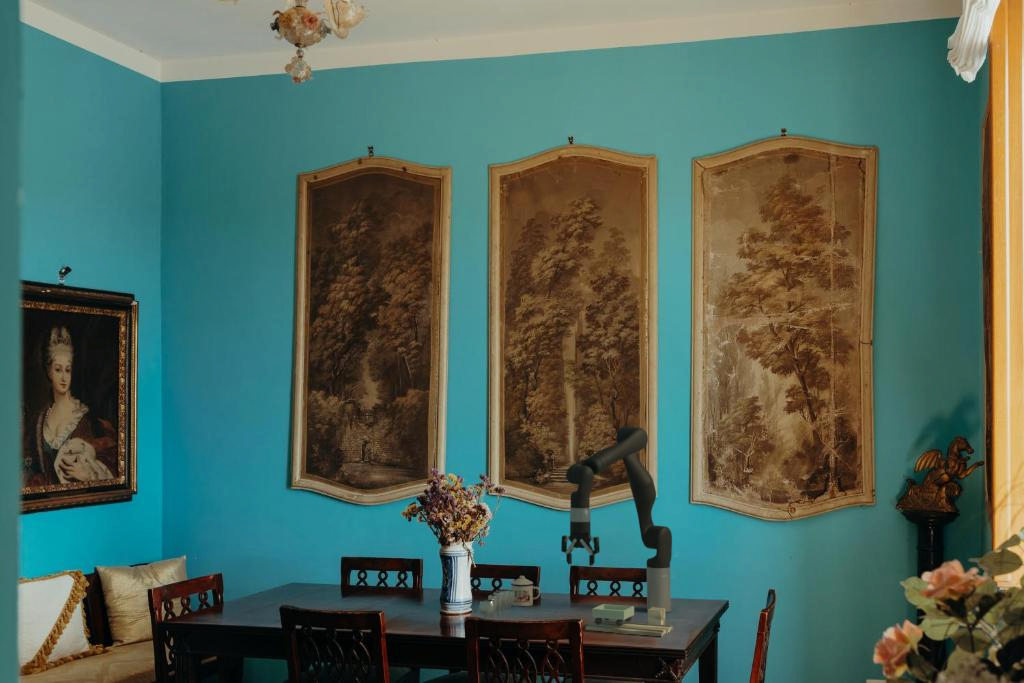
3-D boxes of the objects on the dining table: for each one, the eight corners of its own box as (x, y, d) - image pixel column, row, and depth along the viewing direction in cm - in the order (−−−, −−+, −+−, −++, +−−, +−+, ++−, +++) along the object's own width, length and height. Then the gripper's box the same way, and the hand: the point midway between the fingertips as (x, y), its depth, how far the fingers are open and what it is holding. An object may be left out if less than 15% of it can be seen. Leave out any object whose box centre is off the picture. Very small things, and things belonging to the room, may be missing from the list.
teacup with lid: (510, 606, 431) (510, 577, 432) (511, 602, 440) (511, 574, 441) (539, 607, 430) (539, 577, 431) (540, 603, 439) (540, 574, 440)
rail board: (599, 624, 393) (599, 618, 394) (672, 630, 381) (672, 624, 382) (585, 630, 381) (585, 625, 381) (661, 637, 369) (660, 631, 369)
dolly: (603, 619, 391) (603, 603, 392) (634, 621, 386) (634, 606, 387) (592, 624, 382) (592, 608, 382) (624, 626, 376) (623, 611, 377)
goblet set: (503, 622, 399) (503, 586, 400) (517, 623, 397) (517, 586, 398) (476, 636, 372) (476, 598, 373) (492, 637, 371) (492, 598, 372)
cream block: (652, 623, 394) (651, 607, 394) (665, 624, 391) (664, 608, 392) (647, 626, 389) (647, 609, 390) (661, 627, 387) (660, 610, 387)
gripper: (601, 519, 392) (602, 564, 391) (565, 518, 398) (566, 562, 397) (594, 521, 385) (595, 567, 384) (558, 520, 391) (558, 565, 390)
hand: (580, 564), depth 391 cm, fingers open, 8 cm apart
